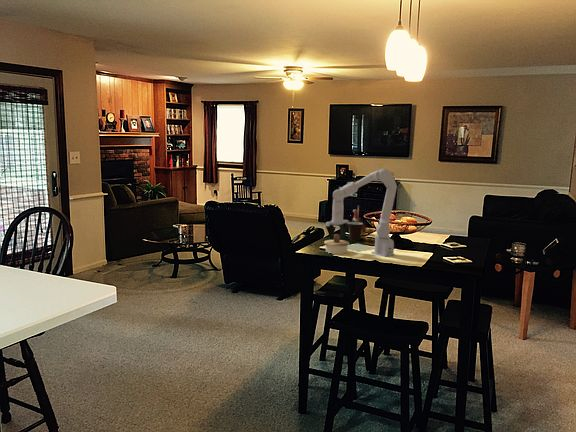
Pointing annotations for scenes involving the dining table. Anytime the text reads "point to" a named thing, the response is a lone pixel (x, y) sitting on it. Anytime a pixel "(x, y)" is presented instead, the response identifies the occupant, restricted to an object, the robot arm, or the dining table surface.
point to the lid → (336, 241)
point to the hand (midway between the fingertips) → (336, 238)
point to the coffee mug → (355, 230)
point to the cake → (358, 219)
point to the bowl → (336, 249)
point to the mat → (359, 247)
